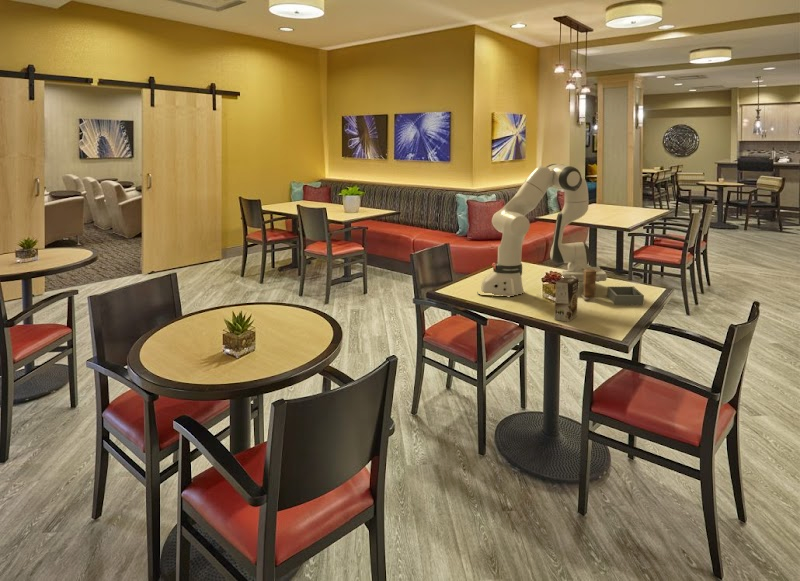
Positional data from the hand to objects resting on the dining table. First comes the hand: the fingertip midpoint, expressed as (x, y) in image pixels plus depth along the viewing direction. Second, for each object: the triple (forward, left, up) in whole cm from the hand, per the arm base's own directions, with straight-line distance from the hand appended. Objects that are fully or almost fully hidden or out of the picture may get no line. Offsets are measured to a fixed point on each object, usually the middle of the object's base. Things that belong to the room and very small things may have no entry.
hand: (587, 280), depth 259 cm
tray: (+15, -8, -7) cm, 19 cm away
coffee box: (-15, -34, -8) cm, 38 cm away
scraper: (0, -5, -8) cm, 9 cm away
